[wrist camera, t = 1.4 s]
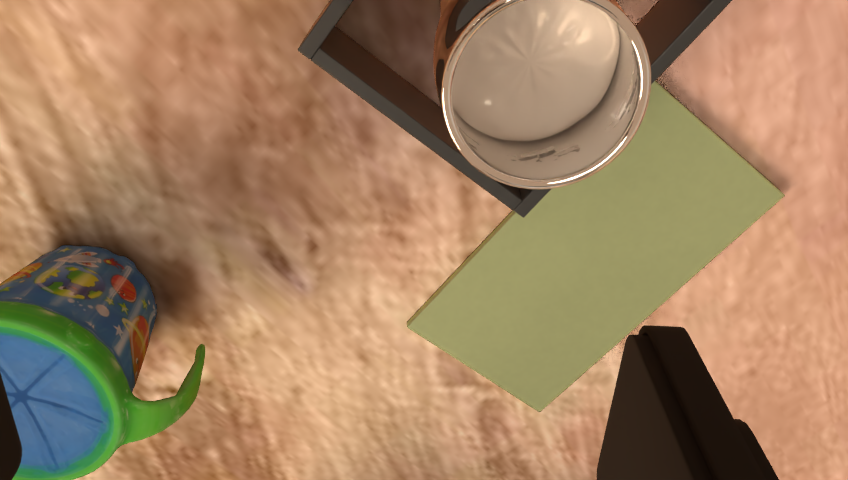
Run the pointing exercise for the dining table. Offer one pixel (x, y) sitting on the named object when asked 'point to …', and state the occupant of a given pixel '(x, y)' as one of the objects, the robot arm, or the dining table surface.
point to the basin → (422, 118)
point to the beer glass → (540, 86)
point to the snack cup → (80, 361)
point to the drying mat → (596, 256)
